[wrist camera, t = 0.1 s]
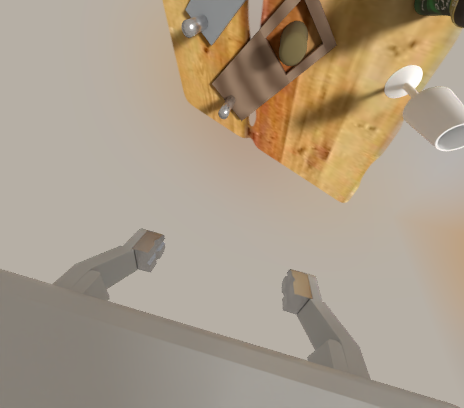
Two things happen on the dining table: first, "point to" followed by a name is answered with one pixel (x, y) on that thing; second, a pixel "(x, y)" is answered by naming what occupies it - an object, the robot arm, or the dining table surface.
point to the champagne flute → (429, 109)
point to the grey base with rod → (209, 17)
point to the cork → (293, 43)
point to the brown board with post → (267, 64)
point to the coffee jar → (442, 9)
